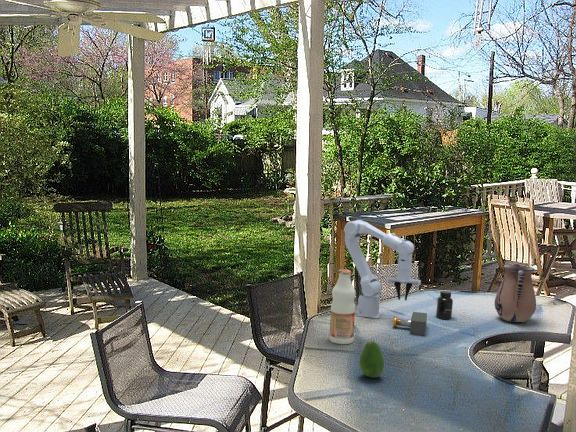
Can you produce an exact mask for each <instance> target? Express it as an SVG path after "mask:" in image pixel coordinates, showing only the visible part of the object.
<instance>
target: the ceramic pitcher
mask: <svg viewBox="0 0 576 432" xmlns="http://www.w3.org/2000/svg"><path fill="white" fill-rule="evenodd" d="M503 268H504V269H505V273H504V275H503V276H504V277H503V278H502V281H501V284H500V286H499V288H498V290H497V292H496V295H495V298H494V308H495V311H496V313H497V315H498V316H499V317H500V318H501V319H502V320H504V321H506V322H508V321H511V322H510V323H513V322H522V323H525V322H527V321H529V319H531V318H532V317H533V315H534V314H535V312H536V311H537V309H536V308H537V300H536V293H535V288H534V284H533V279H532V274H533V272H534V271H535V269H536V268H534V267H532V266H529V265H528V266H527V265H524V266H522V265H520V264H517V263H516V264H515V263H514V264H504V265H503Z"/></svg>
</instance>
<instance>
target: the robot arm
mask: <svg viewBox="0 0 576 432" xmlns="http://www.w3.org/2000/svg"><path fill="white" fill-rule="evenodd" d="M343 232H344V244H345V246H346V248H347V250H348V253H349V254H350V257H351V259H352V262H353V263H354V266H355V268H356V270H357V273H358V275H359V277H360V283H359V284H360V286H361V287H360V288H361V293H362V294H360V295H359V296H358V301H357V317H361V318H362V317H363V318H370V319H379V317H380V316H381V312H380V299H381V298H380V296H381V295H380V294H381V292H382V290H383V285H382V283H381V282H380V281H379V280H378V278H377V276H376V275H374V274H373V273H372V270H371V268H370V267H369V264H368V262H367V259H366V257H365V256H364V253H363V251H362V248H361V247H360V245H359V243H358V242H359V240H360V238H361V236H362V235H363V234H368V235H370V236H372V237H374V238H377V239H378V240H381V241H382V243H383V245H385V246H386V247H388V248H390V249H392V250H393V251H396V252H397V254H398V258H397V259H398V260H397V275H396V277H394V276H392V277H391V276H387V277H386V283H394V289H395V290H396V294H397V300H398V301H399V300H401V287H402V284H404V285H405V295H404V301H407V299H408V296H409V293H410V291H411V289H412V287H413V285H415V286H421V283H422V280H421V279H415V278H411V277H412V276H411V275H412V263H413V262H412V260H413V252H414V251H415V245H414V244H413V242H411V241H410V240H406V239H405V238H401V237H399V236H397V235H396V233H394V232H392V233H391V232H390V233H386V232H384V231H382V230H380V229H379V228H377V227H375V226H374V225H372V224H370V223H369V222H367V221H364V220H363V219H356V220H350V221H348V222H347V223H346V224H345V226H344V228H343Z"/></svg>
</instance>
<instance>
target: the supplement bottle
mask: <svg viewBox="0 0 576 432" xmlns="http://www.w3.org/2000/svg"><path fill="white" fill-rule="evenodd" d="M451 297H452V291H448V290H441V291H440V292H439V296H438V297H437V301H436V313H435V317H436V318H437V319H439V320H444V321H446V320H451V319H452V316H453V315H452V313H453V305H454V304H453V301H454V300H453V298H451Z"/></svg>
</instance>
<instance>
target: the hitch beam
mask: <svg viewBox="0 0 576 432" xmlns="http://www.w3.org/2000/svg"><path fill="white" fill-rule="evenodd" d="M411 314H412V315H411V319H410V320H411V324H410V327H409V335H412V336H413V335H414V336H421V337H425V335H426V330H427V324H428V323H427V322H428V321H427V320H428V313H427V312H420V311H412V313H411Z"/></svg>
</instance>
